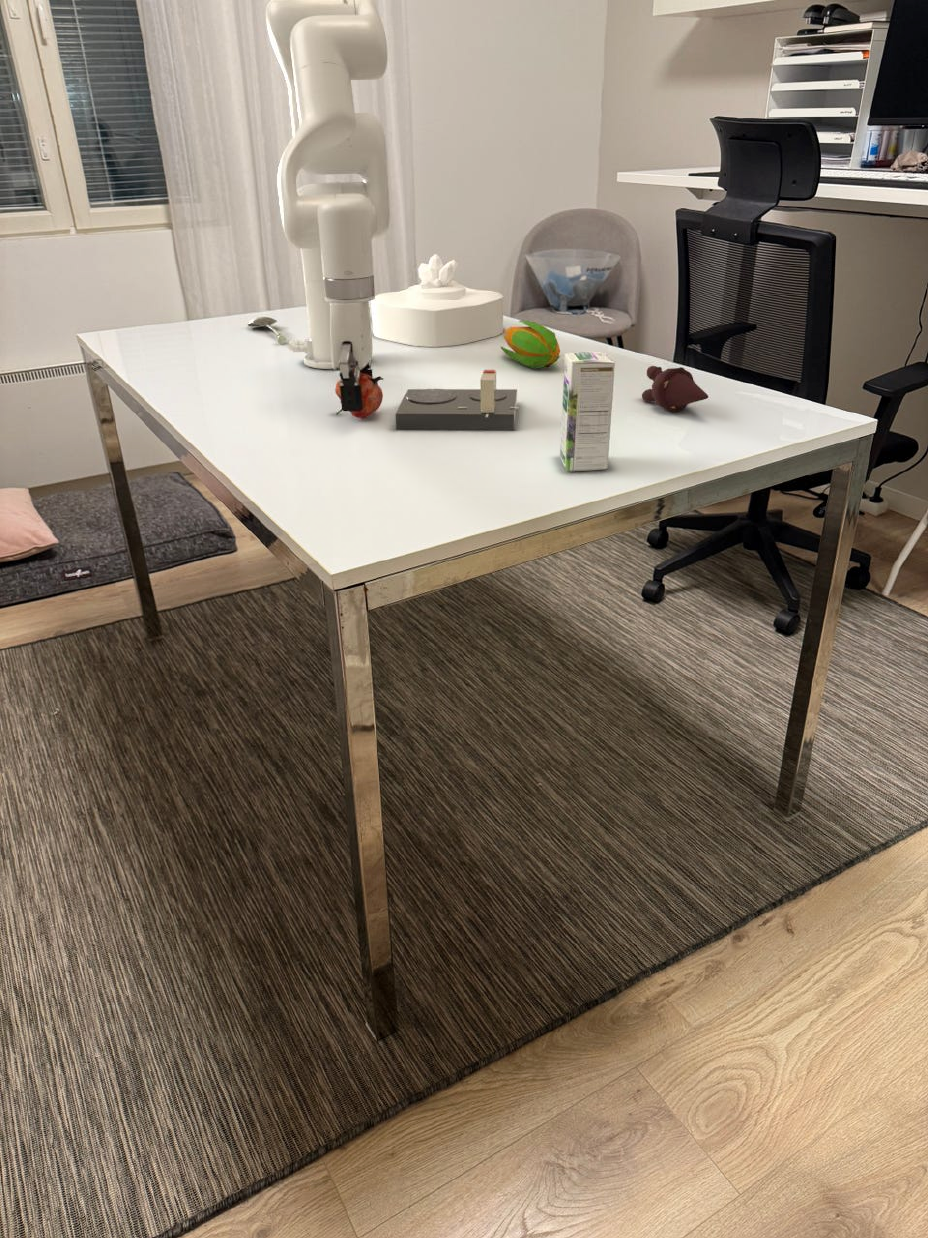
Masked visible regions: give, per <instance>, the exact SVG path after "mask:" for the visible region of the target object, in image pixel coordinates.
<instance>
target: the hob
mask: <svg viewBox="0 0 928 1238" xmlns="http://www.w3.org/2000/svg"><path fill="white" fill-rule="evenodd" d="M423 389H424V388H422V389H421V388H414V389H413V388H412V389H411V388H410V389H409V388H407V390H406V392H405V394H404V396H403V398H402V400H401V402H400V404H399V406H398V407H397V409H396V412H395V429H396V430H397V431H399V430H400V431H402V430H403V431H407V430H408V431H413V430H414V431H515V425H516V417H517V410H519V409H520V406H518V389H516V388H515V389H514V388H513V389H511V388H509V389H506V388H504V389H502V388H498V389H497V388H496V390H499V391H503V392H505V393H506V394H507V397H506V398H504V399H501V400H496V407H495V411H494V413H481V401H479V400H474V399H471V398H470V397H469V395H470V393H472V392H475V391H479V390H481V388H479V389H478V388H477V389H476V388H473V389H471V388H469V389H468V388H467V389H464V388H459V389H457V388H451V389H450V388H448V389H447V388H444V389H445V390H450V391H453V392H455V393H456V394H457V397H456V398H455V399H453V400H451V401H448V402H443V403H434V404H425V403H416V402H412V401H410V400H408V399H407V395H408V394H409V393H411V392H414V391H418V390H423Z"/></svg>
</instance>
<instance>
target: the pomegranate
mask: <svg viewBox="0 0 928 1238" xmlns="http://www.w3.org/2000/svg"><path fill="white" fill-rule="evenodd" d="M353 373H354V374H353V375H355V372H353ZM383 380H384V378H383V377H382V376H379V375H378V376H377V377H373V378H372V377H371V376H370V375H368V374H366V373H360V375H359V385H361V388H362V402H363V410H362V411H348V413H350V414H351V415H352V416H353V417H354V418H356V419H366V418H368V417H370V416H371V415H373V414H374V413H375V412H376V411H377V410H379V408H380V407H381V405H382V402H383V397H384V393H383V390H382V388H381V387H380V386H379V384H378V383H379V381H383ZM334 393H335V394H336V396H337V397H338V398H339V401H340V402H341V393H340V379H339V380H338V381H337V383H336V385H335V389H334ZM341 412H344V411H343V410H342V408H341V409H340V410H339V411H337V412H336V414H335V415H336V416H337V415H339V414H340V413H341Z"/></svg>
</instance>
